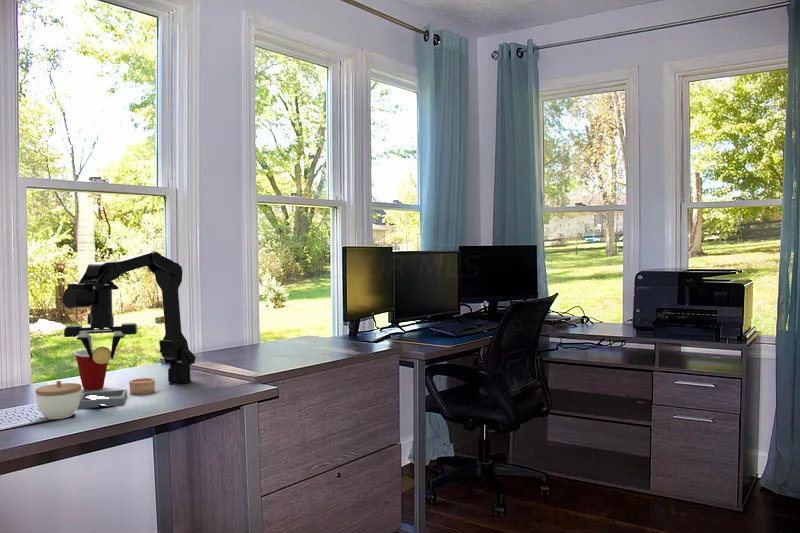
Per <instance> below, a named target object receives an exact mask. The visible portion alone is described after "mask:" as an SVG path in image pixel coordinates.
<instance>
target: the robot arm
mask: <svg viewBox="0 0 800 533" xmlns="http://www.w3.org/2000/svg"><path fill="white" fill-rule="evenodd" d="M144 267H147V269H148V271H150V272H151V273H152V274H153V275H154V277H155V282H156V284H157V285H158V287H159V288H160V290H161V296H162V308H163V318H164V331H165V334H164V337H163V338H162V339H160V340H159V341H158V344H159V353H160V354H161V357H162V358H163V360H164V363H165V365H167V364H168V365H169V367H168V368H167V377H168V378H167V379H168V380H167V382H168V383H169V385H181V384H191V382H192V381H191V380H192V379H191V378H192V377H191V365H193V364H195V361H196V358H197V357H196V355H194V353H193V352H191V350H190V347H189V343H188V341H187V340H188V339H187V338H186V337H185V336H184V334H183V333H182V332H183V331H182V321H181V312H180V311H181V310H180V298H179V288H180V286H181V284H182V282H183V268H182V266H181V265H180V264H179V263H178V262H174V261H173V260H172V259H171V258H167V257H165V256H163V255H162V254H161V253H159V252H158V251H156V250H150V251H149V250H146V251H144V252H142V253H138V254H135V255H134V254H133V255H131V256H127V257H123V258H121V259H117V260H116V259H115V260H112V261H98V262H96V261H95V262H90V263H88V265H87V268H86V269H85V270H86V271H85V272H84V274H83V275H82V277H81V278H80V279H79V280H80V281H79V282H78V283H67V285H66V286H67V287H66V289H65V290H64V291H63V294H62V303H63V305H64V307H65V308H66V309H79V308H89V307H90V308H89V309H90V312H88V314H87V324H88V325H89V327H86V326H85V327H83V325H82V324H78V325H77V324H76V325H72V324H71V325H67V326H65V328H64V330H63V337H64V338H76V340H78V341H81V343H82V345H83V346H84V348H85V350H87V352H88V355H89V357H90V359H91V361H92V360H93V357H92V355H93V351H92V349H93V347H92V346H93V344H92V334H114V335H113V336H112V338H111V339H112V342H111V350H110V351H111V359H110V360H114V357H115V354H116V350H117V348H118V345H119V343H120V341H121V339H123V338H125V337H126V335H136V334H137V333H138V325H137V323H135V322H130V323H129V322H126V323H122V324H121V325H119V326H118V325H117V326H115V325H114V324H115V320H114V314H113V290H119V288H120V287H119V285H118V286H117V285H116V284H115V283H114V282H113V281H115V280H116V279H118V278H120V277H121V276H122V275H123V274H124V273H129V272H131V271H134V270H138V269H141V268H144Z"/></svg>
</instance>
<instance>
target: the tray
mask: <svg viewBox="0 0 800 533" xmlns="http://www.w3.org/2000/svg"><path fill="white" fill-rule="evenodd" d="M89 395H97V396H105V397H109V399H96V400H85V397H86V396H89ZM127 398H128V389H114V390H111V389H110V390H98V391H97V390H96V391H86V392H81V400H80V404H79V406H78V408H77V410H78V409H79V410H80V409H90V408H100V407H99V405H100V404H105V405H108V406H107V407H115V406H116V407H117V406H124V405H125V403H126V400H127Z"/></svg>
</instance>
